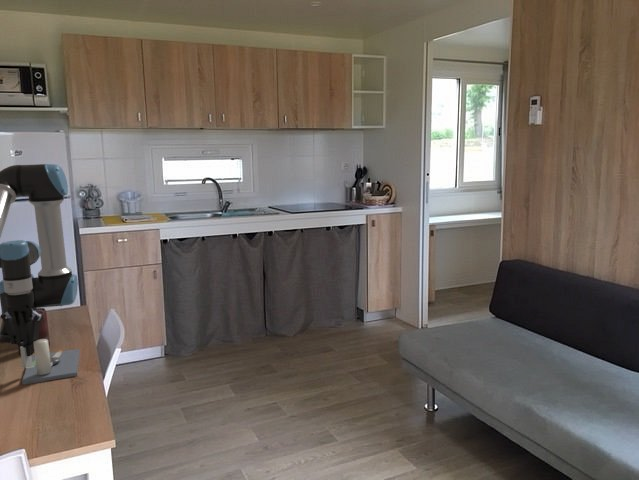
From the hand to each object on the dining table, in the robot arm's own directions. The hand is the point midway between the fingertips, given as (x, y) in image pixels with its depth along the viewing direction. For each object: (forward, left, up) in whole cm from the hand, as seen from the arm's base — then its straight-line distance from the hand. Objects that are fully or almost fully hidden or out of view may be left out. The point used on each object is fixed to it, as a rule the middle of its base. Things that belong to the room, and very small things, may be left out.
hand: (27, 365), depth 164 cm
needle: (-4, +6, -2) cm, 8 cm away
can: (-26, +1, -4) cm, 27 cm away
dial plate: (-4, +7, -4) cm, 9 cm away
